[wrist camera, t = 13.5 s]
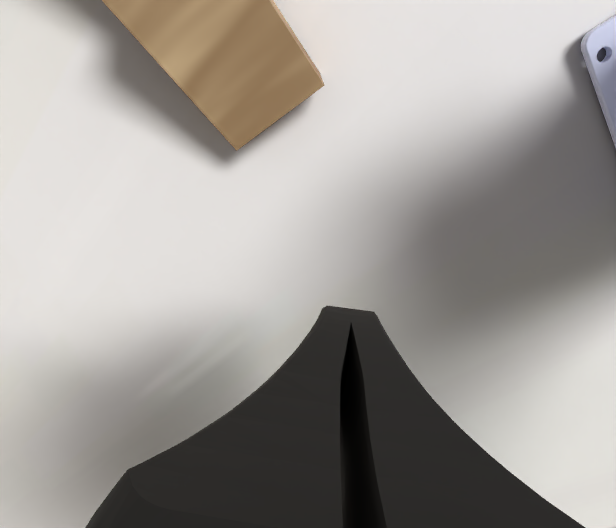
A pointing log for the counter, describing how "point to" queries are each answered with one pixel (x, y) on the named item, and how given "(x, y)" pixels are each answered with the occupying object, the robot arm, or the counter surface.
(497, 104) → the counter surface
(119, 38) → the counter surface
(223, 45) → the tile
